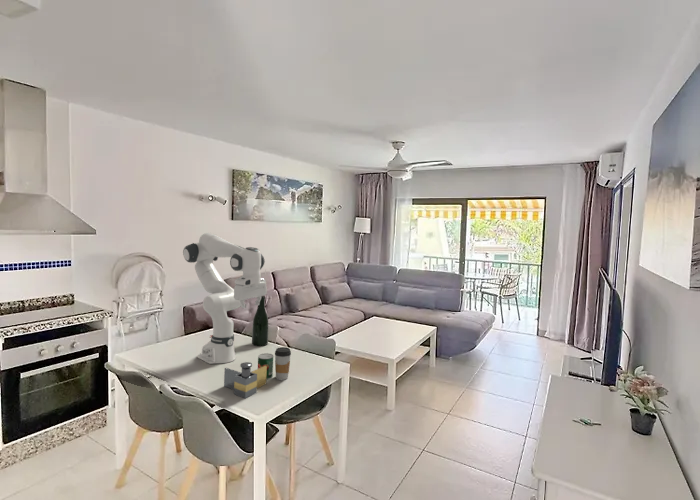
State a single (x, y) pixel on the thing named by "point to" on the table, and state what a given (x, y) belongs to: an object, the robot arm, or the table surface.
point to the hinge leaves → (245, 381)
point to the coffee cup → (282, 362)
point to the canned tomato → (266, 363)
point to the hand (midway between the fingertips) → (250, 306)
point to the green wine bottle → (260, 325)
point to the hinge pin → (246, 369)
